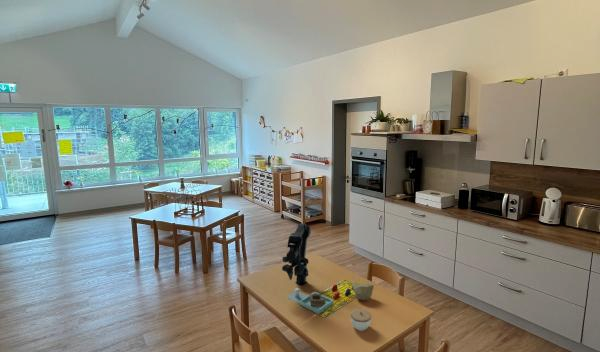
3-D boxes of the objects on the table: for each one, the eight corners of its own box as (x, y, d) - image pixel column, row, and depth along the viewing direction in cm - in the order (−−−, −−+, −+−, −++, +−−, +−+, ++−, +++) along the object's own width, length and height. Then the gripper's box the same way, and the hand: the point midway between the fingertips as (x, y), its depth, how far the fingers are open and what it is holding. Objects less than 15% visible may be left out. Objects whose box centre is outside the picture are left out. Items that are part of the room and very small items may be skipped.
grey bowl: (375, 303, 203) (376, 286, 212) (370, 292, 198) (371, 276, 207) (352, 304, 210) (354, 288, 218) (346, 294, 204) (348, 278, 213)
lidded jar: (348, 321, 185) (348, 306, 183) (367, 320, 186) (368, 305, 184) (353, 334, 174) (353, 318, 173) (373, 333, 175) (373, 317, 174)
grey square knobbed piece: (296, 291, 217) (296, 283, 216) (308, 297, 210) (308, 288, 209) (286, 297, 210) (285, 289, 209) (297, 303, 203) (297, 295, 202)
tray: (314, 295, 213) (314, 291, 212) (333, 303, 203) (333, 300, 202) (298, 304, 202) (298, 301, 201) (317, 314, 192) (318, 310, 191)
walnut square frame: (309, 300, 205) (309, 294, 205) (324, 299, 206) (324, 294, 205) (310, 306, 198) (310, 300, 198) (325, 306, 199) (325, 300, 198)
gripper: (296, 246, 220) (296, 268, 223) (275, 255, 207) (276, 278, 210) (308, 250, 213) (309, 273, 216) (288, 260, 200) (288, 284, 202)
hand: (295, 277), depth 211 cm, fingers open, 9 cm apart
